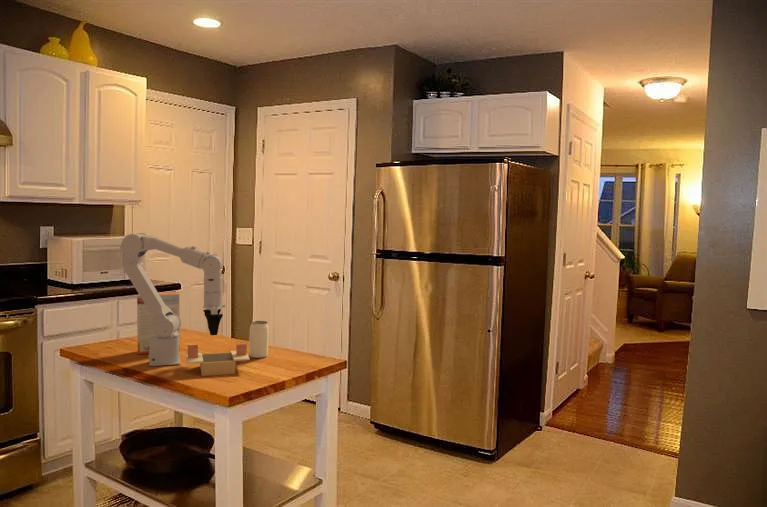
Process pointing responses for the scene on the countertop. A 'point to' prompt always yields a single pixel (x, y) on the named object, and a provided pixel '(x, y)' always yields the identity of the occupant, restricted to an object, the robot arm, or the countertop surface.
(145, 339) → the cracker box
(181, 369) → the countertop surface
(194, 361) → the left flap
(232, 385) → the countertop surface
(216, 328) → the robot arm
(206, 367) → the carton
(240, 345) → the right flap
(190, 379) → the countertop surface
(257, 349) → the can
